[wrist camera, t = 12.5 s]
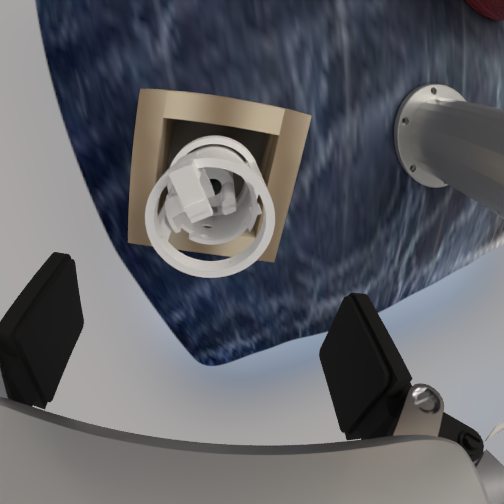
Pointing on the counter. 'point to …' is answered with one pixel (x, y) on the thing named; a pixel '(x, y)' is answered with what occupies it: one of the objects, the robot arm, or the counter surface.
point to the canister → (489, 8)
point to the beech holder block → (208, 124)
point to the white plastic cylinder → (203, 198)
